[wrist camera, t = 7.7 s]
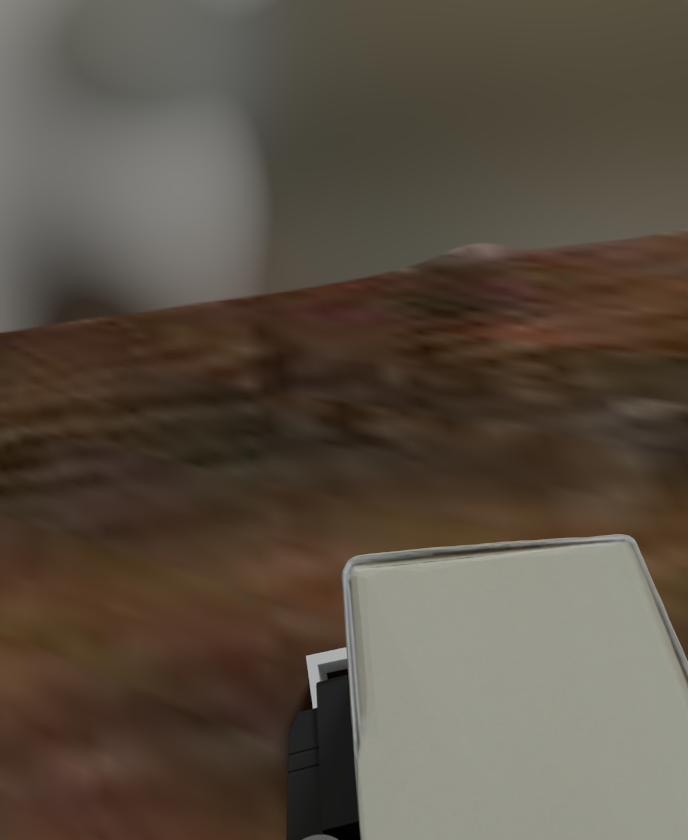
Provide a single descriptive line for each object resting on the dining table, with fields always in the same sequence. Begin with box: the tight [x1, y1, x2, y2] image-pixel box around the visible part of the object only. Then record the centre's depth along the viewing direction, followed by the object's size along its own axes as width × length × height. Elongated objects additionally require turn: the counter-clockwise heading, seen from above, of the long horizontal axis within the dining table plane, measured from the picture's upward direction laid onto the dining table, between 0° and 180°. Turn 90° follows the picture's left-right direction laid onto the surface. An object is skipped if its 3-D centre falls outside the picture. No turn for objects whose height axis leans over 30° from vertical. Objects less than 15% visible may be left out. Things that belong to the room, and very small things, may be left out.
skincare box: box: [342, 534, 688, 840], centre depth 11 cm, size 6×4×12 cm
